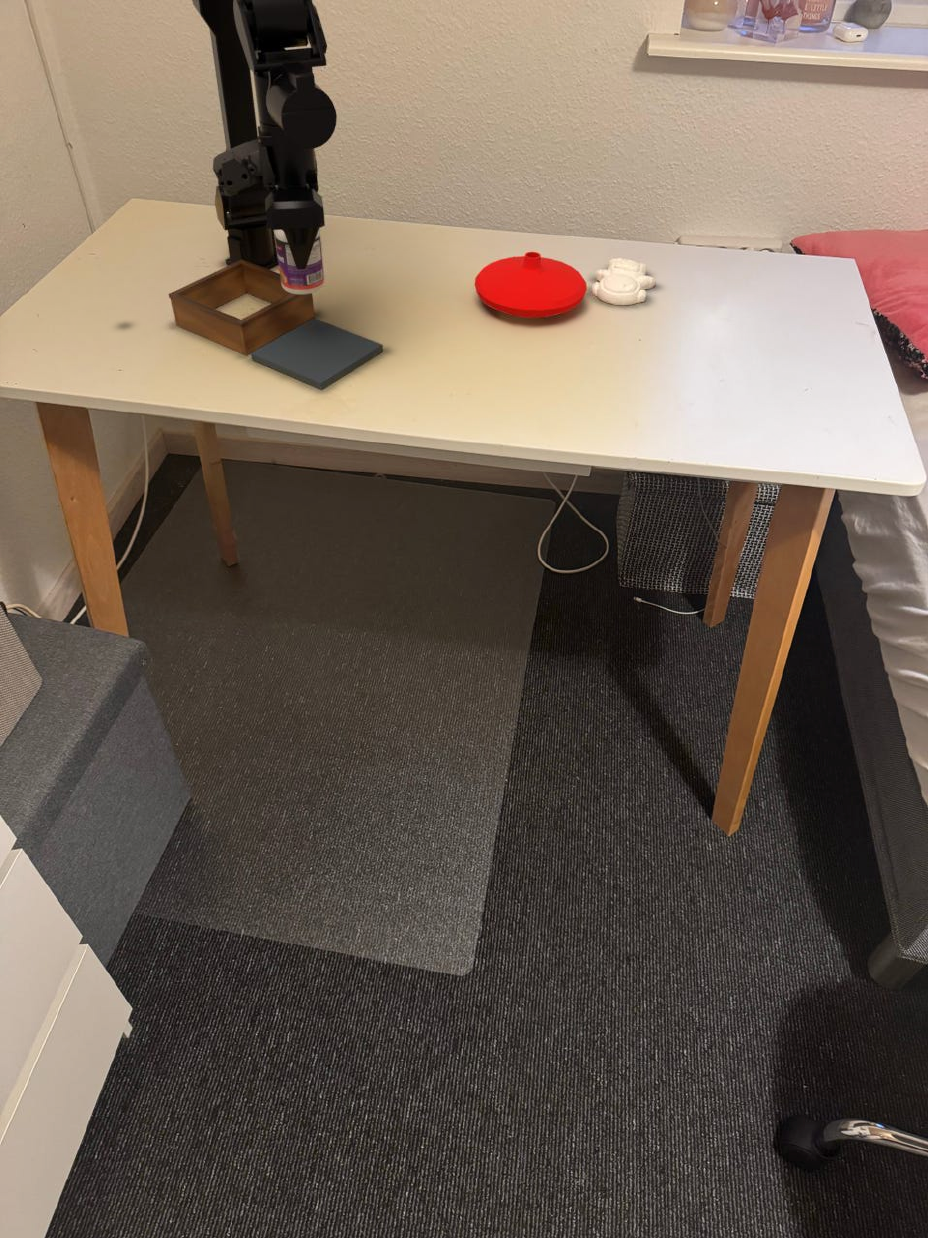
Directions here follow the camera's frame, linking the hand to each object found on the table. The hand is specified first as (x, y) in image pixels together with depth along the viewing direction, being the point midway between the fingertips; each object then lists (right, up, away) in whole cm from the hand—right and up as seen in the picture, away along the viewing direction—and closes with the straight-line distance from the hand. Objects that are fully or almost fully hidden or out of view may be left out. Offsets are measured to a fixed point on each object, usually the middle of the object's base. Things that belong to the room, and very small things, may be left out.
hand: (300, 257), depth 114 cm
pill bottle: (0, -3, +3) cm, 4 cm away
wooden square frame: (-10, -3, +14) cm, 18 cm away
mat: (+1, -9, +8) cm, 13 cm away
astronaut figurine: (+43, +5, +24) cm, 50 cm away
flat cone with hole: (+29, +1, +20) cm, 35 cm away
